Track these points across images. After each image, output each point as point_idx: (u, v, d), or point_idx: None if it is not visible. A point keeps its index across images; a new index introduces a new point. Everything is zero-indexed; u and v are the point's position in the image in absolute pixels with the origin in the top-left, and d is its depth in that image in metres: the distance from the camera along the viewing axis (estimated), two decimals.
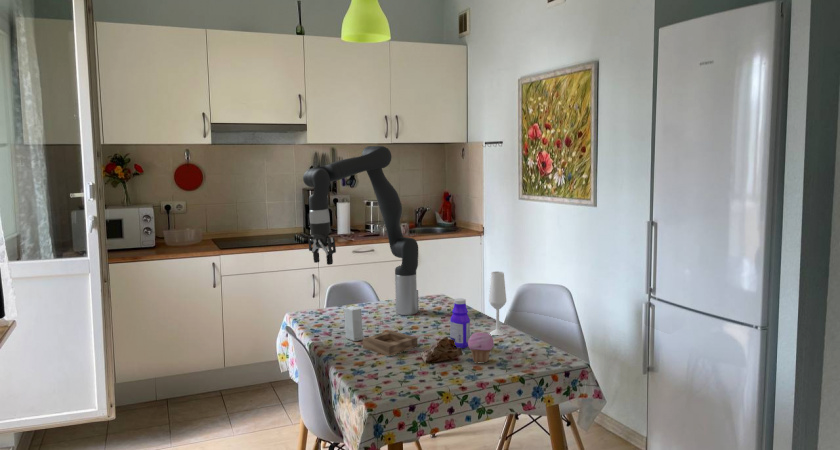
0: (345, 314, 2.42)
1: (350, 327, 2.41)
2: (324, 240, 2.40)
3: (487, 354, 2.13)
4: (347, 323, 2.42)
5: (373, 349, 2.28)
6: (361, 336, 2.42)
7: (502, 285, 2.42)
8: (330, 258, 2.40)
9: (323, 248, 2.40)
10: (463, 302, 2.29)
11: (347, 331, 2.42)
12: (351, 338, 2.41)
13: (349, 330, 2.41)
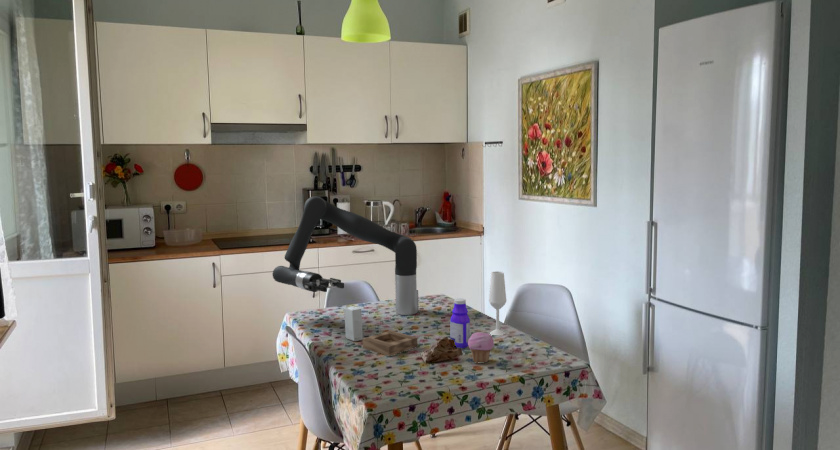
0: (345, 314, 2.42)
1: (350, 327, 2.41)
2: None
3: (487, 354, 2.13)
4: (347, 323, 2.42)
5: (373, 349, 2.28)
6: (361, 336, 2.42)
7: (502, 285, 2.42)
8: (320, 289, 2.46)
9: None
10: (463, 302, 2.29)
11: (347, 331, 2.42)
12: (351, 338, 2.41)
13: (349, 330, 2.41)
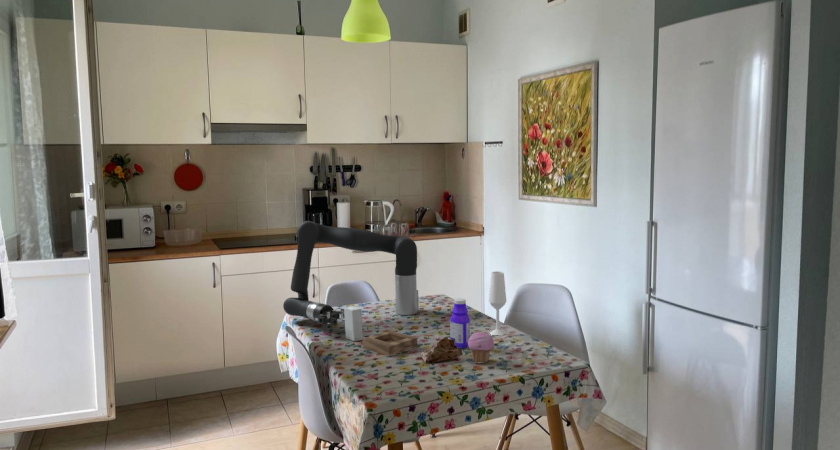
0: (345, 314, 2.42)
1: (350, 327, 2.41)
2: None
3: (487, 354, 2.13)
4: (347, 323, 2.42)
5: (373, 349, 2.28)
6: (361, 336, 2.42)
7: (502, 285, 2.42)
8: (330, 322, 2.44)
9: None
10: (463, 302, 2.29)
11: (347, 331, 2.42)
12: (351, 338, 2.41)
13: (349, 330, 2.41)
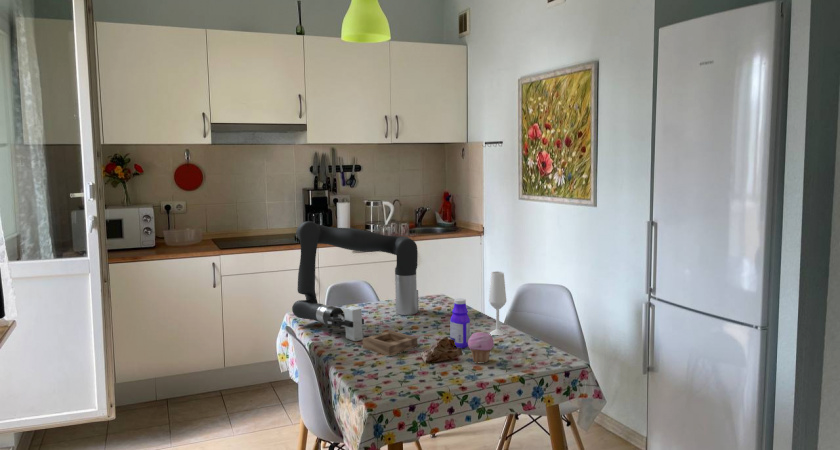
0: (345, 314, 2.42)
1: (350, 327, 2.41)
2: None
3: (487, 354, 2.13)
4: None
5: (373, 349, 2.28)
6: (361, 336, 2.42)
7: (502, 285, 2.42)
8: (346, 324, 2.40)
9: None
10: (463, 302, 2.29)
11: (347, 331, 2.42)
12: (351, 338, 2.41)
13: (349, 329, 2.41)
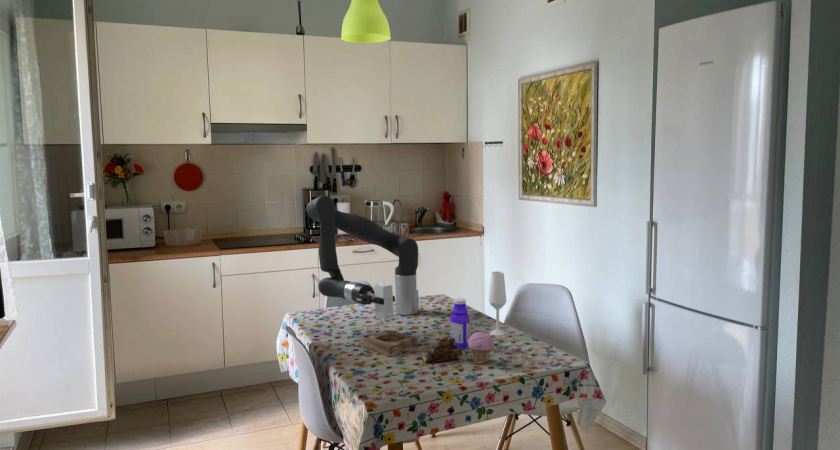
0: (375, 291, 2.31)
1: (380, 304, 2.29)
2: None
3: (487, 354, 2.13)
4: None
5: (373, 349, 2.28)
6: (392, 314, 2.30)
7: (502, 285, 2.42)
8: (376, 301, 2.28)
9: None
10: (463, 302, 2.29)
11: (377, 308, 2.31)
12: (381, 316, 2.29)
13: (380, 307, 2.30)
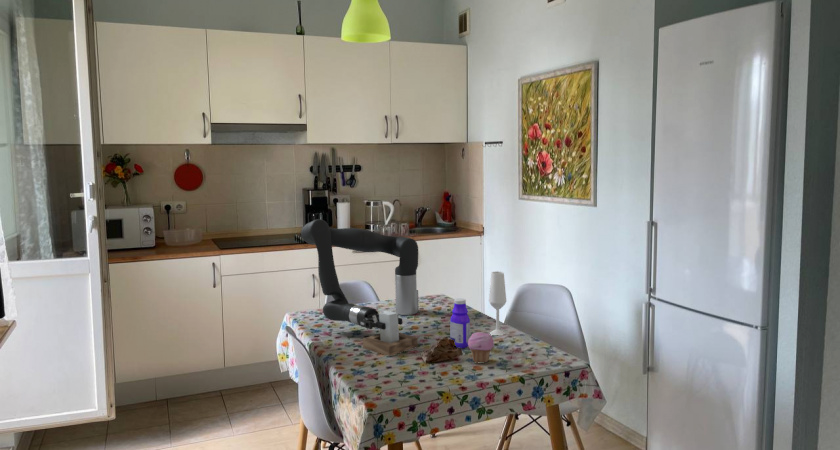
0: (380, 319, 2.31)
1: (386, 332, 2.29)
2: None
3: (487, 354, 2.13)
4: None
5: (373, 349, 2.28)
6: None
7: (502, 285, 2.42)
8: (378, 326, 2.28)
9: None
10: (463, 302, 2.29)
11: (382, 337, 2.31)
12: None
13: (386, 335, 2.30)
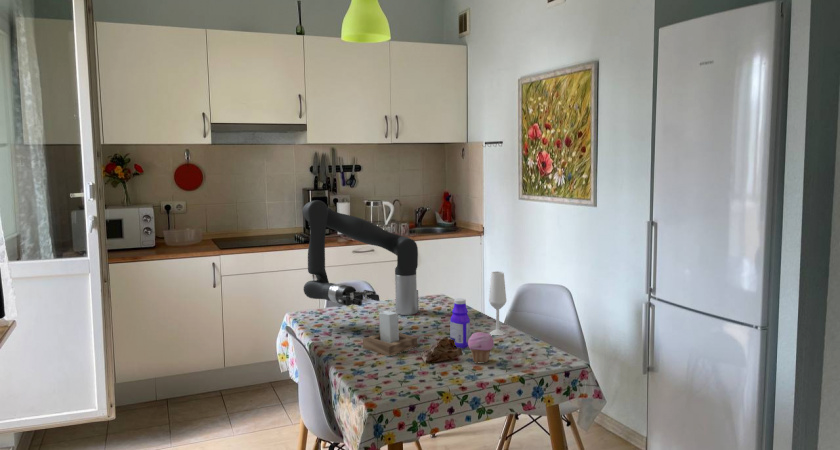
0: (380, 319, 2.31)
1: (386, 332, 2.29)
2: None
3: (487, 354, 2.13)
4: (383, 328, 2.30)
5: (373, 349, 2.28)
6: None
7: (502, 285, 2.42)
8: (354, 303, 2.36)
9: None
10: (463, 302, 2.29)
11: (382, 337, 2.31)
12: None
13: (386, 335, 2.30)
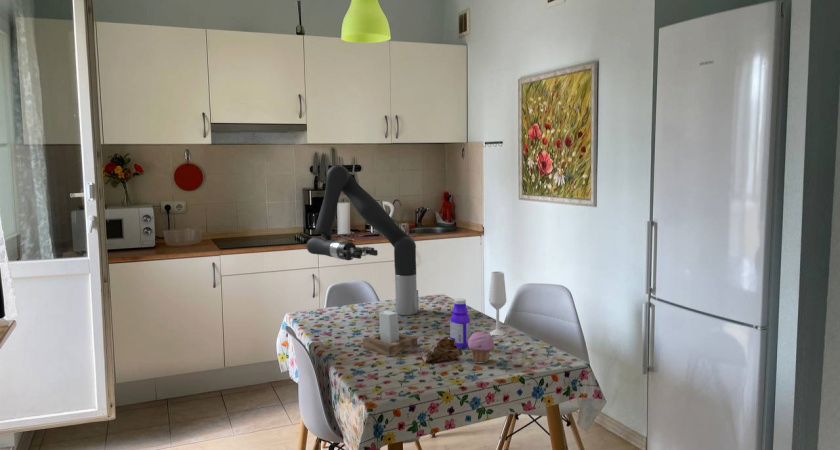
0: (380, 319, 2.31)
1: (386, 332, 2.29)
2: None
3: (487, 354, 2.13)
4: (383, 328, 2.30)
5: (373, 349, 2.28)
6: None
7: (502, 285, 2.42)
8: (354, 256, 2.52)
9: None
10: (463, 302, 2.29)
11: (382, 337, 2.31)
12: None
13: (386, 335, 2.30)
